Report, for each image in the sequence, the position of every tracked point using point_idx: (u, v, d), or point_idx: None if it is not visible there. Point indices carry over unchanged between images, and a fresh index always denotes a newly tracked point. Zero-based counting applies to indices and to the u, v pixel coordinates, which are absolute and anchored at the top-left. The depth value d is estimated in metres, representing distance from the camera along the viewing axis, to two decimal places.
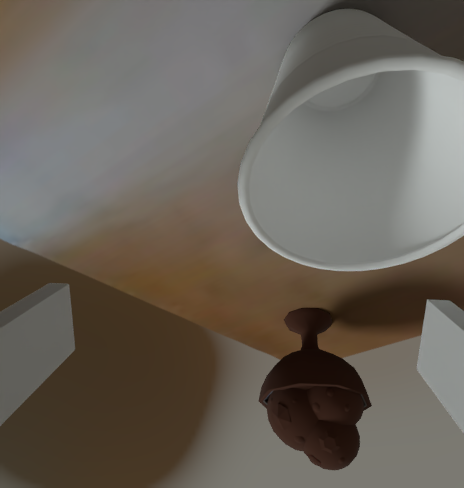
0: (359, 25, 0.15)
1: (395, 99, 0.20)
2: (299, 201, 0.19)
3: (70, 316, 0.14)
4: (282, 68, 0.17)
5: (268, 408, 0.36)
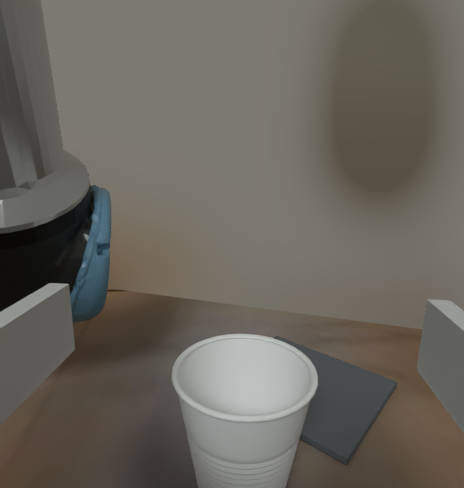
0: None
1: None
2: None
3: (70, 316, 0.14)
4: (193, 462, 0.25)
5: None
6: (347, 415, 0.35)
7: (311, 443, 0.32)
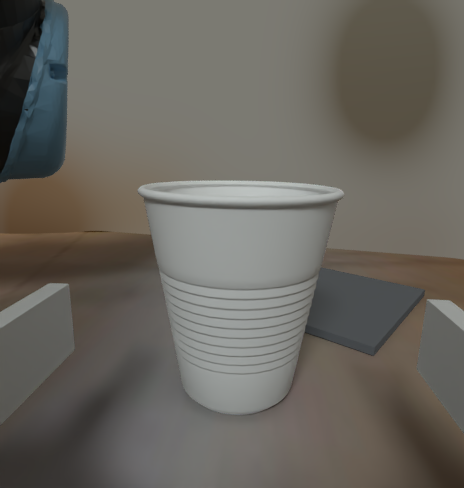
0: None
1: None
2: None
3: (70, 316, 0.14)
4: (170, 321, 0.18)
5: None
6: (369, 313, 0.28)
7: (326, 337, 0.25)
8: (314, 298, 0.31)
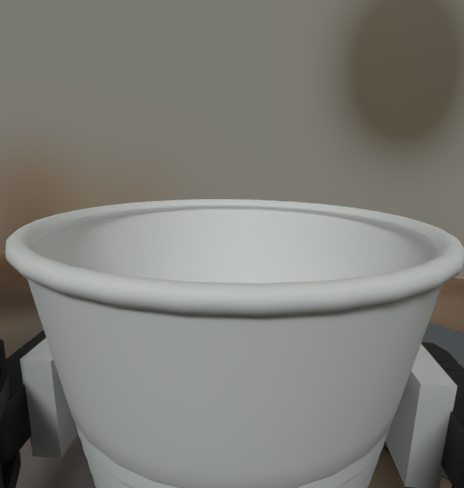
0: None
1: None
2: None
3: None
4: None
5: None
6: None
7: None
8: None
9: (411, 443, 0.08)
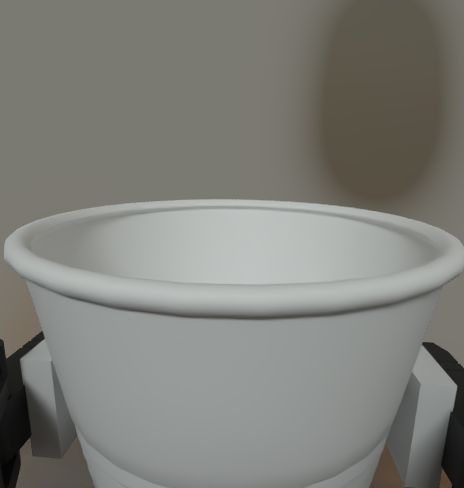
0: None
1: None
2: None
3: None
4: None
5: None
6: None
7: None
8: None
9: (411, 443, 0.08)
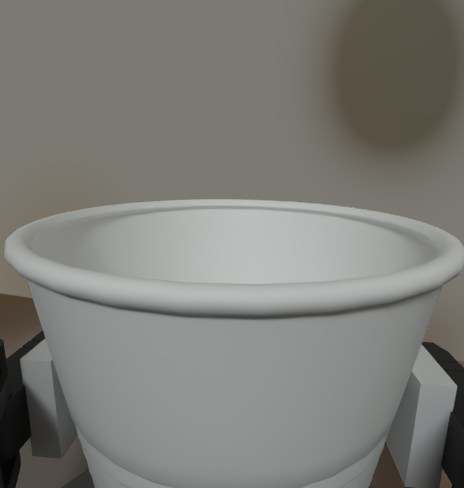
0: None
1: None
2: None
3: None
4: None
5: None
6: None
7: None
8: None
9: (411, 443, 0.08)
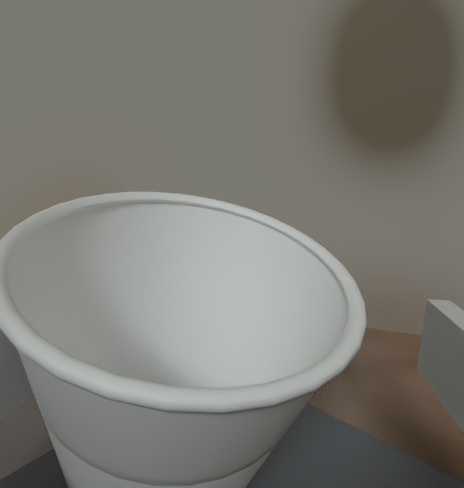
0: None
1: None
2: None
3: None
4: None
5: None
6: None
7: None
8: None
9: None
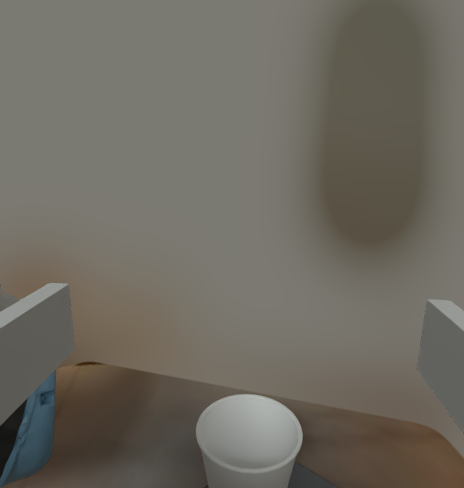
0: None
1: None
2: None
3: (70, 316, 0.14)
4: None
5: None
6: None
7: None
8: None
9: None
